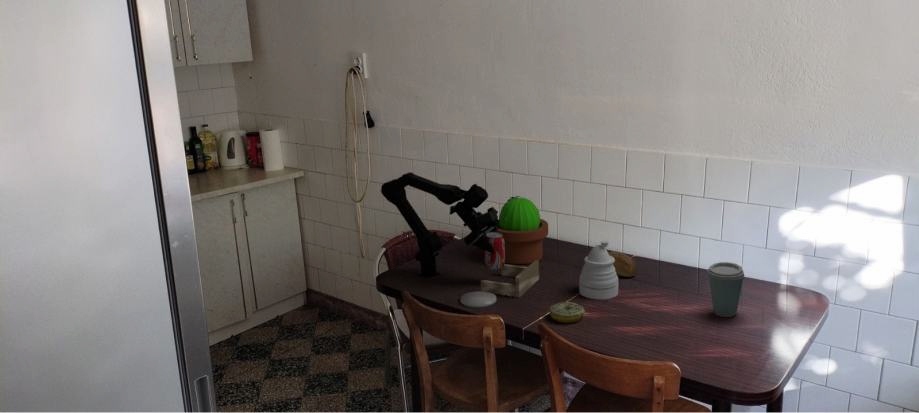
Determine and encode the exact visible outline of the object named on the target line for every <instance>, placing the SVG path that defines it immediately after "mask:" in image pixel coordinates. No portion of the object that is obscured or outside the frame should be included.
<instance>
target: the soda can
mask: <svg viewBox="0 0 919 413" xmlns="http://www.w3.org/2000/svg"><path fill="white" fill-rule="evenodd" d="M486 239H487V241H488V242H489V244H490V245H491V246H492V248H493V249H494V251H495V252H494V253H493V254H492V253H490V252H488V251H486V250H484V265H485V267H487V268H488V269H489V270H499V269H500V270H501V268H502V267H503V266H504V264H506V263H505V244H504V238H503V236H502V233H499V232H490V233H487V234H486Z"/></svg>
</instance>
